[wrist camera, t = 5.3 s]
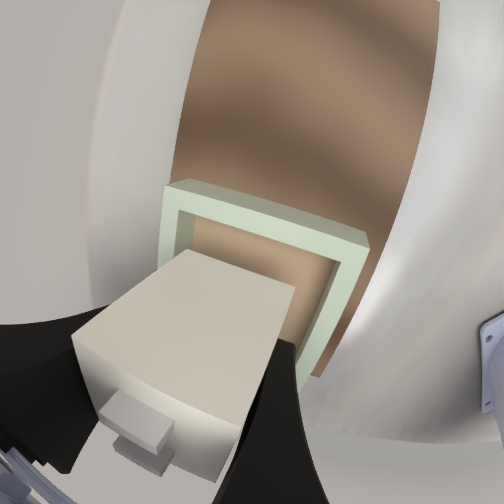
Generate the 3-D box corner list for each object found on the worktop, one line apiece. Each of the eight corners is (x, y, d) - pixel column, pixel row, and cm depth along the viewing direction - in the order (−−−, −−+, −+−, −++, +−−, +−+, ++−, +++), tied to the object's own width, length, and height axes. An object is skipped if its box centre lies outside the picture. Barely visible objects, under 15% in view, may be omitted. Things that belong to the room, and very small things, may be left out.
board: (321, 365, 15) (319, 377, 14) (167, 307, 17) (159, 315, 16) (434, 10, 7) (439, 2, 6) (231, -28, 8) (224, -37, 8)
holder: (305, 367, 14) (299, 393, 12) (173, 315, 16) (155, 335, 14) (365, 232, 11) (370, 249, 9) (189, 178, 12) (164, 185, 10)
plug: (266, 367, 11) (205, 503, 5) (178, 331, 12) (86, 437, 6) (295, 287, 9) (226, 462, 4) (186, 248, 10) (46, 354, 4)
